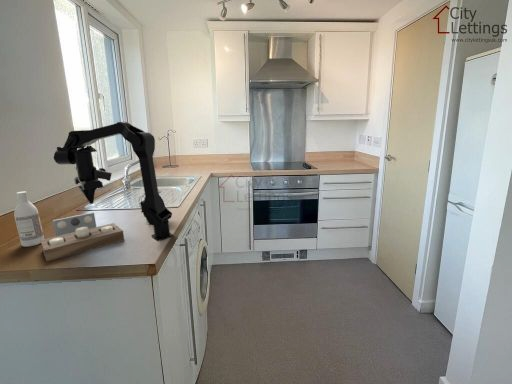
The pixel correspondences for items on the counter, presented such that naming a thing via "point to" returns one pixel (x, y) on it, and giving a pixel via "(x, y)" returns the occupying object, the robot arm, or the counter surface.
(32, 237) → the bath foam
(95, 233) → the board
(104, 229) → the button
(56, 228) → the placard
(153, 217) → the robot arm
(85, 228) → the button middle
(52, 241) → the button
